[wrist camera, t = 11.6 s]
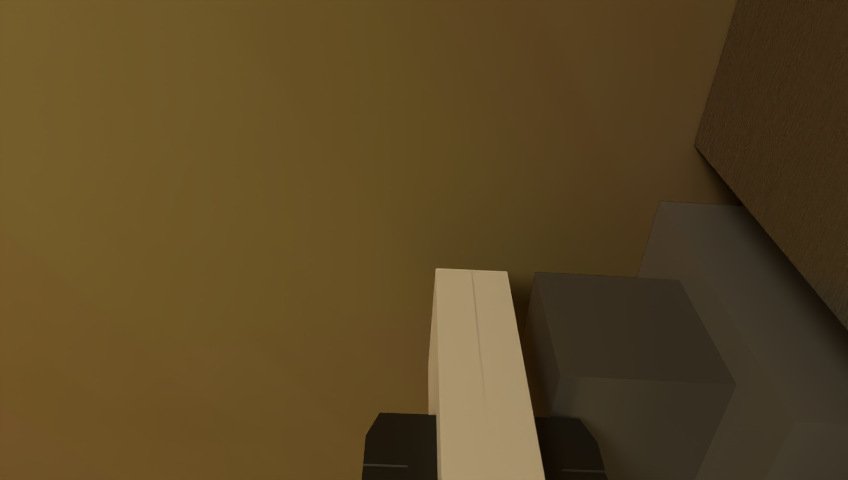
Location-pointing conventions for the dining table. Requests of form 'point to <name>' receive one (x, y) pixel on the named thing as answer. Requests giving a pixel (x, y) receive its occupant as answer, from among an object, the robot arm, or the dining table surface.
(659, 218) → the plug
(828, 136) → the block
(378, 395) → the dining table surface
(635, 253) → the dining table surface
